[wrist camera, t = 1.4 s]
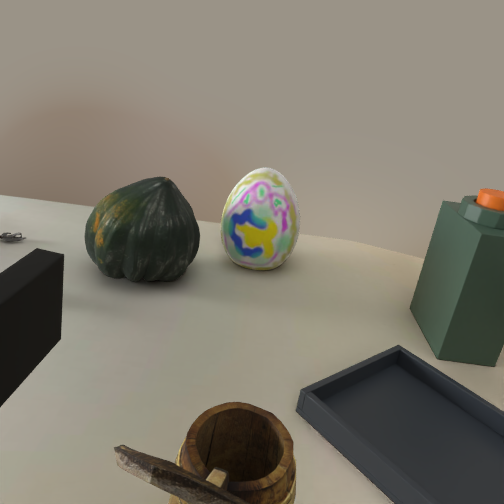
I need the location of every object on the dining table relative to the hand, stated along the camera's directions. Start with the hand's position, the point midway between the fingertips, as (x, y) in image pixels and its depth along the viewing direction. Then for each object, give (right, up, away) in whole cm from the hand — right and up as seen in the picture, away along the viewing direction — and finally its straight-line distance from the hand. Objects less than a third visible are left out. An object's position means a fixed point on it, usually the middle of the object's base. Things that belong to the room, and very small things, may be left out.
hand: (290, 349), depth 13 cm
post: (+25, -8, +48) cm, 55 cm away
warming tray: (+15, -15, +29) cm, 36 cm away
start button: (+27, +8, +41) cm, 50 cm away
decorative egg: (-1, +1, +62) cm, 62 cm away
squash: (-16, 0, +53) cm, 56 cm away
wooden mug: (-4, -19, +15) cm, 24 cm away
